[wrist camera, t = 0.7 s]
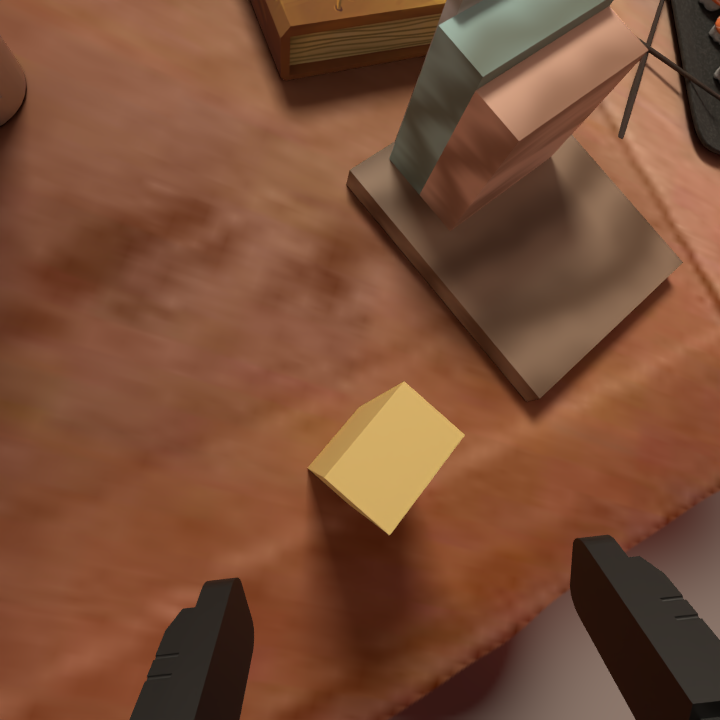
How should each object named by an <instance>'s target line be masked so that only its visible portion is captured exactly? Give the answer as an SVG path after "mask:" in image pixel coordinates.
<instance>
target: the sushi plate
mask: <svg viewBox="0 0 720 720" xmlns="http://www.w3.org/2000/svg"><path fill="white" fill-rule="evenodd" d="M663 3H664V0H660V3H659V6H658V9H657V12H656V15H655V18H654V21H653V24H652V28H651V31H650V34H649V37H648V40H647V43H645V42H643V41H642V40H641V39H639V38H638V37H637V38H638V39H639V40H640V41H641V42H642V43H643V44H644V45H645V47H646V48H647V49H648V51H647V52H646V54H645V55H644V56H643V57H642V58H641V61H640V64H639V67H638V70H637V73H636V76H635V79H634V81H633V84H632V87H631V91H630V94H629V97H628V101H627V105H626V108H625V112H624V116H623V119H622V123H621V127H620V131H619V135H618V137H619V138H621V139H623V137H624V134H625V131H626V128H627V124H628V121H629V118H630V114H631V111H632V108H633V104H634V101H635V97H636V94H637V91H638V87H639V84H640V81H641V77H642V74H643V70H644V67H645V63H646V60H647V56H648V53H651V54H652V55H654V56H655V57H656V58H658V59H659V60H661V61H662V62H664V63H665V64H667V65H668V66H670V67H671V68H672V69H674V70H675V71H677V72H678V73H680V74H681V75H683V76H684V77H685V82H686V88H687V94H688V99H689V104H690V110H691V114H692V119H693V123H694V127H695V130H696V133H697V135H698V137H699V139H700V141H701V143H702V144H703V145H704V147H706V148H707V149H709V150H710V151H712V152H714V153H717V154H720V0H671V3H672V9H673V15H674V20H675V26H676V32H677V37H678V43H679V48H680V54H681V60H682V65H683V69H682V68H680V67H679V66H677V65H676V64H675V63H673V62H672V61H670V60H669V59H667V58H666V57H665V56H663V55H662V54H660V53H659V52H658V51H656V50H655V49H653V48H652V47H650V46H651V43H652V39H653V36H654V33H655V29H656V26H657V23H658V19H659V16H660V13H661V10H662V6H663Z"/></svg>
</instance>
